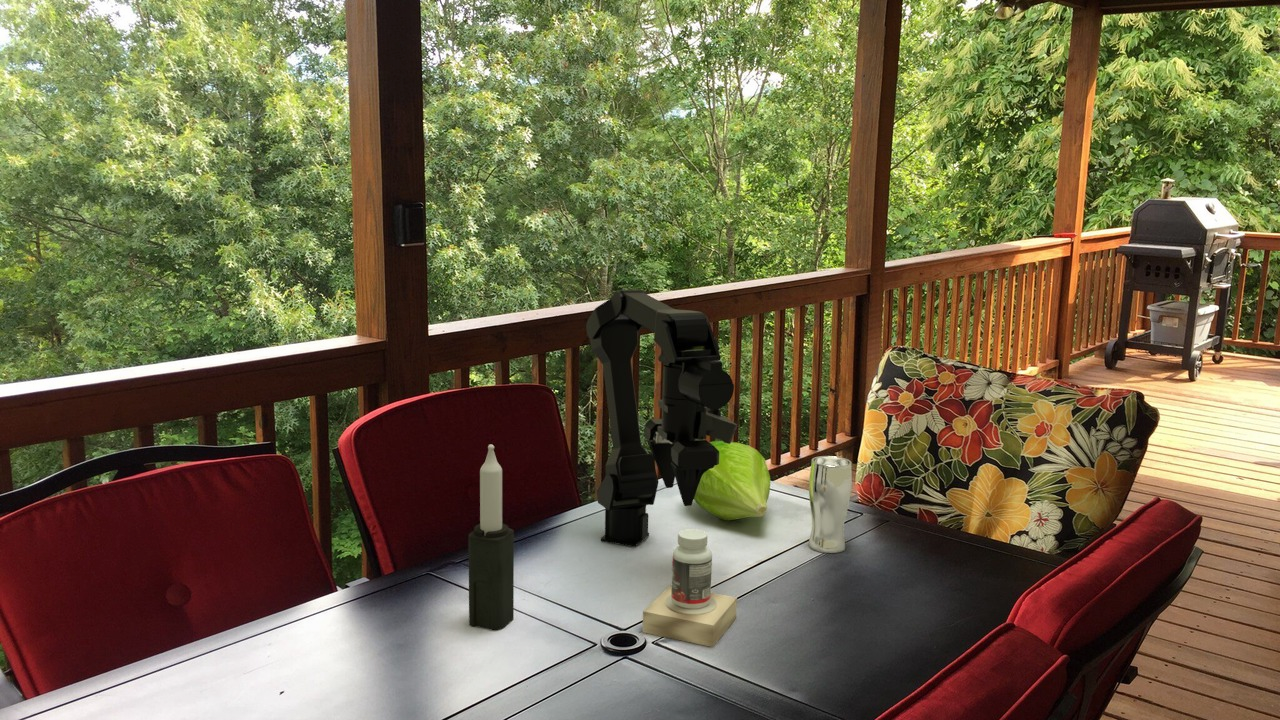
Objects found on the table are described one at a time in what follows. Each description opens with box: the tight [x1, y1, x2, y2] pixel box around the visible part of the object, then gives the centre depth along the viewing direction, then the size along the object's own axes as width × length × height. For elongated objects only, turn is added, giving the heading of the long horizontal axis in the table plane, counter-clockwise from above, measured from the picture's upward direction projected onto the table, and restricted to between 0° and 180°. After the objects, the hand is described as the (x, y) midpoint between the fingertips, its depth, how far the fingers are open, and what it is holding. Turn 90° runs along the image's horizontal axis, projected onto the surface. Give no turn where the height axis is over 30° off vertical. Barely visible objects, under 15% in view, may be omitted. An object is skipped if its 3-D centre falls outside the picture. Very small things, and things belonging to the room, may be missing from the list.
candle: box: [468, 444, 515, 631], centre depth 135 cm, size 5×5×25 cm
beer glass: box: [808, 455, 853, 554], centre depth 167 cm, size 7×7×15 cm
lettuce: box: [693, 440, 771, 521], centre depth 181 cm, size 15×22×15 cm
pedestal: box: [642, 584, 738, 648], centre depth 137 cm, size 10×10×3 cm
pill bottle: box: [671, 528, 713, 609], centre depth 136 cm, size 5×5×10 cm
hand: (678, 496), depth 151 cm, fingers open, 9 cm apart
